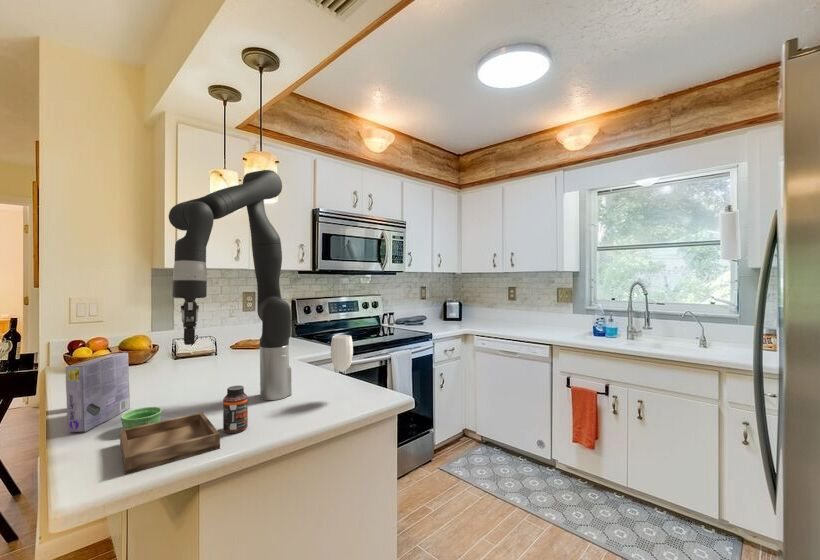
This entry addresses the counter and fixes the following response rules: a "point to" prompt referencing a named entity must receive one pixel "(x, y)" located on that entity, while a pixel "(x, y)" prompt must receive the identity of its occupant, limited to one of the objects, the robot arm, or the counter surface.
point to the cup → (341, 352)
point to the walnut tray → (167, 441)
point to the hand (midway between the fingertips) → (189, 343)
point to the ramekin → (141, 417)
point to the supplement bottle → (235, 410)
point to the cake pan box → (97, 391)
